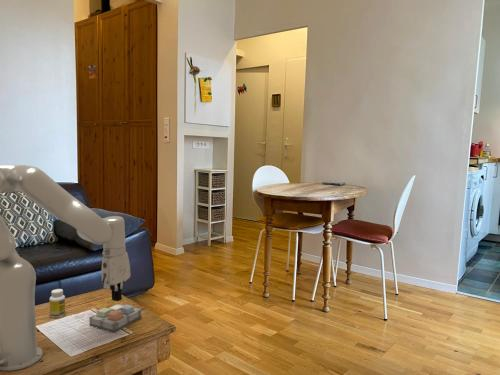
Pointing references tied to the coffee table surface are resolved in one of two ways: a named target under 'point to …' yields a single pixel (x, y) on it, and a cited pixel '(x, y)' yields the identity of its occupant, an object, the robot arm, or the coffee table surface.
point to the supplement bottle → (57, 303)
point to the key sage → (103, 312)
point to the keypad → (112, 325)
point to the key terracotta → (115, 315)
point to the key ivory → (116, 308)
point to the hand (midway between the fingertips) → (116, 299)
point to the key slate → (127, 309)
